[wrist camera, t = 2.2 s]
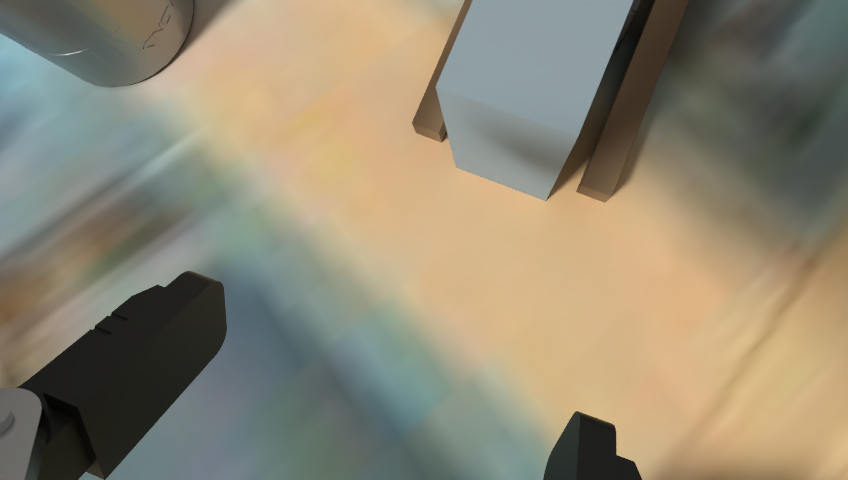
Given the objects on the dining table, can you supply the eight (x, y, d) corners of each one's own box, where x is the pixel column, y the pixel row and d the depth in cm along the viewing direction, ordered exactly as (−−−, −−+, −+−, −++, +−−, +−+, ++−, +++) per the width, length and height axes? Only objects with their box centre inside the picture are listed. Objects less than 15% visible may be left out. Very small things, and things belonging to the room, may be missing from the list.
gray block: (455, 167, 27) (435, 86, 17) (491, 83, 27) (491, -44, 17) (545, 201, 26) (578, 136, 16) (581, 113, 26) (633, -2, 17)
